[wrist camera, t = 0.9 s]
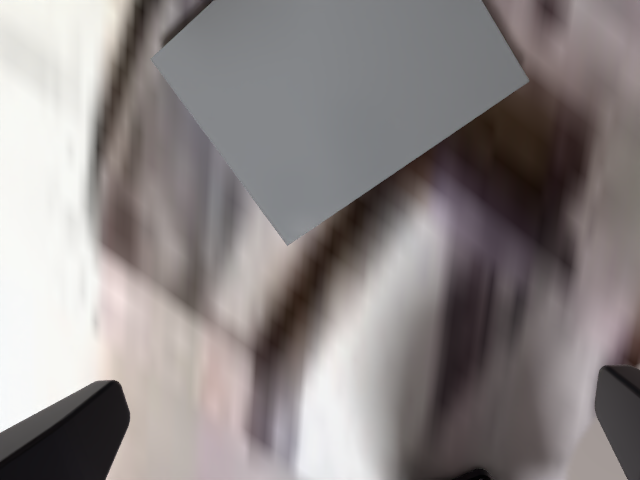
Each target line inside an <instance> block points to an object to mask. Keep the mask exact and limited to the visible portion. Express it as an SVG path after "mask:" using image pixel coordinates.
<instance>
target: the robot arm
mask: <svg viewBox="0 0 640 480" xmlns="http://www.w3.org/2000/svg"><path fill="white" fill-rule="evenodd" d="M595 411H596V415H597V418H598V420H599V422H600V424H601V426H602V428H603V430H604V432H605V434H606V437H607V439H608V441H609V442H610V445H611V446H612V449H613V451H614V453H615V455H616V457H617V458H618V461H619V463H620V465H621V467H622V469H623V471H624V473H625V475H626V477H627V479H628V480H640V370H639V369H637V368H635V367H633V366H630V365H606V366H603V367H602V368H601V369H600V371H599V374H598V382H597V390H596V397H595ZM129 422H130V411H129V408H128V405H127V402H126V399H125V396H124V393H123V390H122V387H121V384H120V383H119V382H118V381H115V380H104V381H96V382H94V383H92V384H90V385H88V386H86V387H84V388H82V389H81V390H79V391H77V392H75V393H73V394H71V395H69V396H68V397H66V398H64V399H62V400H60V401H58V402H56V403H55V404H53V405H51V406H49V407H47V408H45V409H44V410H42V411H40V412H38V413H36V414H34V415H32V416H31V417H29V418H27V419H25V420H23V421H21V422H19V423H18V424H16V425H14V426H12V427H10V428H8V429H6V430H5V431H3V432H1V433H0V480H106V477H107V475H108V473H109V470H110V468H111V466H112V463H113V461H114V459H115V456H116V454H117V452H118V449H119V447H120V445H121V442H122V440H123V438H124V435H125V433H126V431H127V428H128V426H129ZM479 479H483V480H494V479H493V478H492V476H491V475H490V474H489V472H488V471H486V470H484V469H476V470H473V471H471V472H469V473H466V474H464V475H462V476H460V477H457V478H455V479H453V480H479Z"/></svg>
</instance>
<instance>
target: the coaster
mask: <svg viewBox="0 0 640 480" xmlns="http://www.w3.org/2000/svg"><path fill="white" fill-rule="evenodd" d="M151 60H152V62H153V63H154V65H155V66H156V67H157V69H158V70H159V71H160V73H161V74H162V75H163V77H164V78H165V80H166V81H167V82H168V84H169V85H170V86H171V88H172V89H173V90H174V92H175V93H176V95H177V96H178V97H179V99H180V100H181V101H182V103H183V104H184V105H185V107H186V108H187V110H188V111H189V112H190V114H191V115H192V116H193V118H194V119H195V120H196V122H197V123H198V125H199V126H200V127H201V129H202V130H203V131H204V133H205V134H206V135H207V137H208V138H209V140H210V141H211V142H212V144H213V145H214V146H215V148H216V149H217V150H218V152H219V153H220V155H221V156H222V157H223V159H224V160H225V161H226V163H227V164H228V165H229V167H230V168H231V170H232V171H233V172H234V174H235V175H236V176H237V178H238V179H239V180H240V182H241V183H242V185H243V186H244V187H245V189H246V190H247V191H248V193H249V194H250V195H251V197H252V198H253V200H254V201H255V202H256V204H257V205H258V206H259V208H260V209H261V210H262V212H263V213H264V215H265V216H266V217H267V219H268V220H269V221H270V223H271V224H272V225H273V227H274V228H275V230H276V231H277V232H278V234H279V235H280V236H281V238H282V239H283V240H284V242H285V243H286V245H287V246H288V245H289V244H291V243H292V242H294V241H295V240H296V239H298V238H299V237H301V236H302V235H304V234H305V233H307V232H308V231H310V230H311V229H313V228H314V227H316V226H317V225H319V224H320V223H322V222H323V221H324V220H326V219H327V218H329V217H330V216H332V215H333V214H335V213H336V212H338V211H339V210H341V209H342V208H344V207H345V206H347V205H348V204H349V203H351V202H352V201H354V200H355V199H357V198H358V197H360V196H361V195H363V194H364V193H366V192H367V191H369V190H370V189H372V188H373V187H374V186H376V185H377V184H379V183H380V182H382V181H383V180H385V179H386V178H388V177H389V176H391V175H392V174H394V173H395V172H397V171H398V170H399V169H401V168H402V167H404V166H405V165H407V164H408V163H410V162H411V161H413V160H414V159H416V158H417V157H419V156H420V155H422V154H423V153H425V152H426V151H427V150H429V149H430V148H432V147H433V146H435V145H436V144H438V143H439V142H441V141H442V140H444V139H445V138H447V137H448V136H450V135H451V134H452V133H454V132H455V131H457V130H458V129H460V128H461V127H463V126H464V125H466V124H467V123H469V122H470V121H472V120H473V119H475V118H476V117H477V116H479V115H480V114H482V113H483V112H485V111H486V110H488V109H489V108H491V107H492V106H494V105H495V104H497V103H498V102H500V101H501V100H503V99H504V98H505V97H507V96H508V95H510V94H511V93H513V92H514V91H516V90H517V89H519V88H520V87H522V86H523V85H525V84H526V83H528V82H529V79H528V78H527V76H526V74H525V73H524V71H523V69H522V68H521V66H520V64H519V62H518V61H517V59H516V57H515V56H514V54H513V52H512V51H511V49H510V47H509V46H508V44H507V42H506V40H505V39H504V37H503V35H502V34H501V32H500V30H499V29H498V27H497V25H496V24H495V22H494V20H493V19H492V17H491V15H490V13H489V12H488V10H487V8H486V7H485V5H484V3H483V2H482V0H214V1H213V2H212V3H210V4H209V5H208V6H207V7H206V8H205V9H204V10H203V11H202V12H201V13H200V14H199V15H197V16H196V17H195V18H194V19H193V20H192V21H191V22H190V23H189V24H188V25H187V26H186V27H185V28H183V29H182V30H181V31H180V32H179V33H178V34H177V35H176V36H175V37H174V38H173V39H172V40H171V41H169V42H168V43H167V44H166V45H165V46H164V47H163V48H162V49H161V50H160V51H159V52H158V53H156V54H155V55H154V56H153V57H152V58H151Z"/></svg>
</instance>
